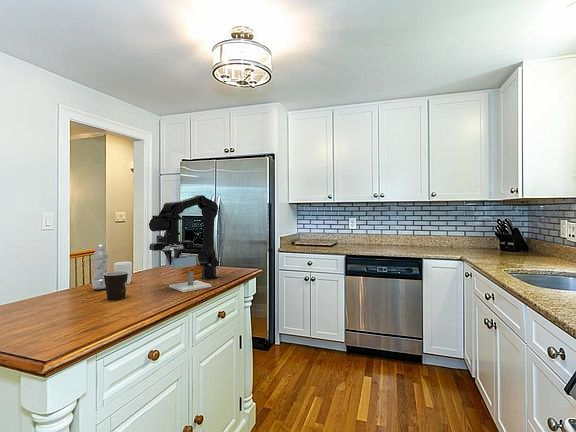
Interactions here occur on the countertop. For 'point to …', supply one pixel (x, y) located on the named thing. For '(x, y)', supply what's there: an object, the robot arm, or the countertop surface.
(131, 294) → the countertop surface
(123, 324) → the countertop surface
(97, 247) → the plastic bottle
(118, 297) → the coffee mug
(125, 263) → the white cup
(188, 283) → the white base with peg
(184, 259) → the loop frame
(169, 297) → the countertop surface
